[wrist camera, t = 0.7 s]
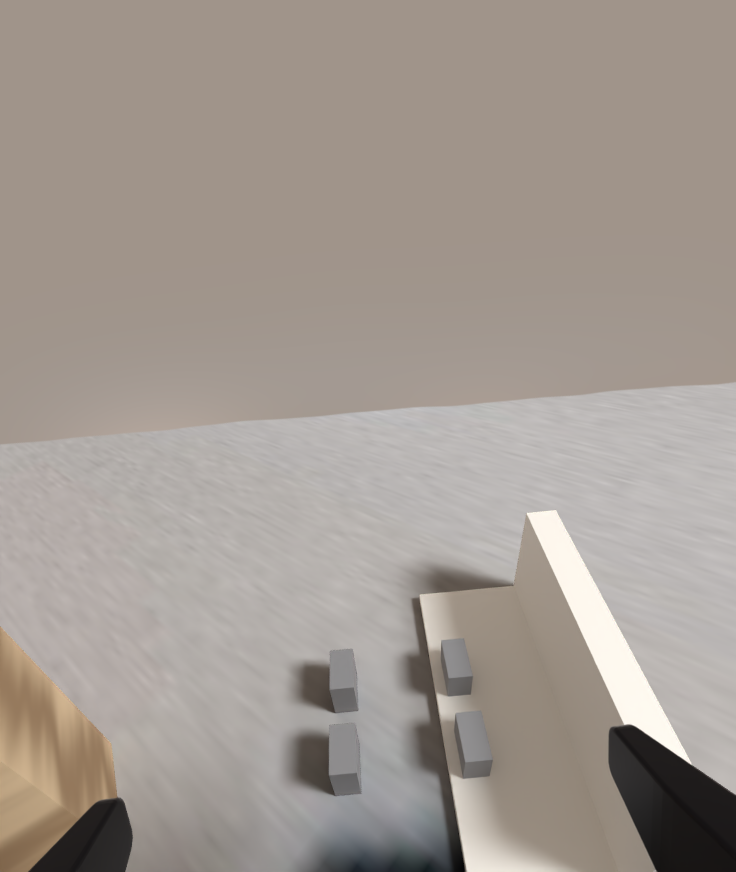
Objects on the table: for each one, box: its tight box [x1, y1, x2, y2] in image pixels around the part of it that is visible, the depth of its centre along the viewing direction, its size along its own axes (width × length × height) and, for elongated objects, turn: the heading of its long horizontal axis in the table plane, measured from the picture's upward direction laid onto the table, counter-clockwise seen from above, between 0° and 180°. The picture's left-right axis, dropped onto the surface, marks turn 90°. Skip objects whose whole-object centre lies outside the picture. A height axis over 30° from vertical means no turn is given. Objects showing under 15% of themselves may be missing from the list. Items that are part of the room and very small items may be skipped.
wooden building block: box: [0, 627, 117, 872], centre depth 18 cm, size 5×4×12 cm
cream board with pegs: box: [329, 510, 692, 872], centre depth 22 cm, size 14×15×7 cm
